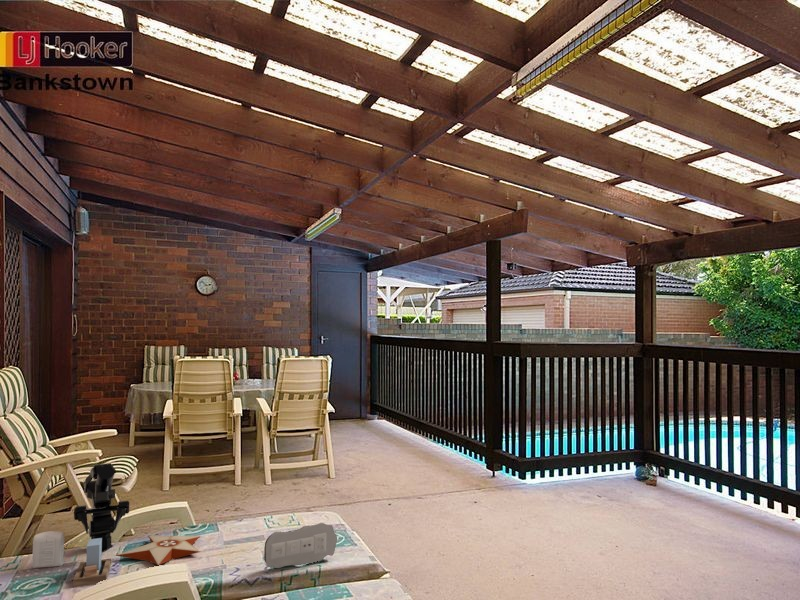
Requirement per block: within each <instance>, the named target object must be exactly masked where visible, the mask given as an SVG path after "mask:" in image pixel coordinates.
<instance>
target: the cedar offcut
mask: <svg viewBox="0 0 800 600" xmlns="http://www.w3.org/2000/svg"><path fill="white" fill-rule="evenodd" d="M84 572H85V576H91V575H96V574H97V566H96V565H93V566H88V567H85V570H84Z"/></svg>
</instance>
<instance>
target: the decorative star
mask: <svg viewBox="0 0 800 600" xmlns="http://www.w3.org/2000/svg"><path fill="white" fill-rule="evenodd" d="M201 537H202V536H200V535H197V536H196V535H148V538H149V539H148V540H149V542H150V543H147V544H145V545H141V546H138V547H135V548H132V549H129V550H127V551H124V552H120V553H118V554H114V556H116V557H122V558H127V559H128V558H129V559H134V560H141V561H148V562H151V563H152V564H155V565H157V566H160V565H162V564H165V563H166V562H169V561H171V560H174V559H175V560H176V559H178V558H182V557H186V556H189V555H194V554H197V553H200V552H201V550H199V549H198V548H196V547H195V546H194V545H193V544H194V543H195V542H197V541H198V540H199V539H200V538H201Z"/></svg>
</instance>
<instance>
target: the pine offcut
mask: <svg viewBox="0 0 800 600" xmlns="http://www.w3.org/2000/svg"><path fill="white" fill-rule="evenodd" d="M96 575H100V573H99V570H97V574H96ZM91 576H95V575H91ZM82 577H88V576H85V571H84V572H83V575H82Z"/></svg>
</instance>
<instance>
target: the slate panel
mask: <svg viewBox="0 0 800 600" xmlns="http://www.w3.org/2000/svg"><path fill="white" fill-rule="evenodd" d="M102 554H103V552H102V538H97V539H91V538H90V539H88V542H87V545H86V558H85V559H86V561H85V562H86V567H88V566H93V565H96V566H97V570H99V574H100V573H101V570H102V566H101V560H102Z"/></svg>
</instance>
